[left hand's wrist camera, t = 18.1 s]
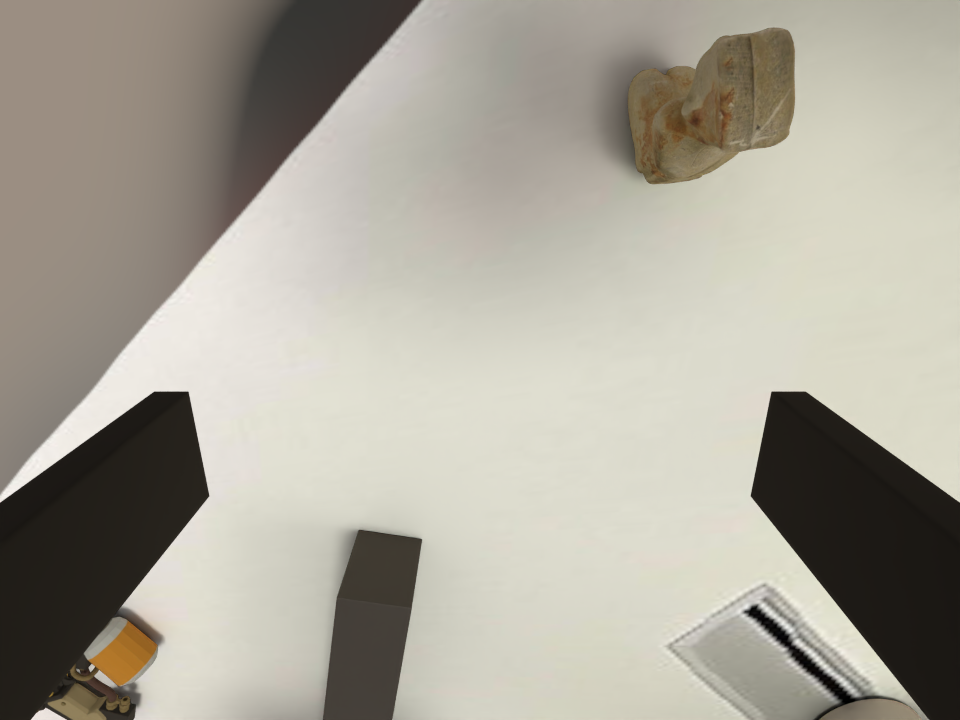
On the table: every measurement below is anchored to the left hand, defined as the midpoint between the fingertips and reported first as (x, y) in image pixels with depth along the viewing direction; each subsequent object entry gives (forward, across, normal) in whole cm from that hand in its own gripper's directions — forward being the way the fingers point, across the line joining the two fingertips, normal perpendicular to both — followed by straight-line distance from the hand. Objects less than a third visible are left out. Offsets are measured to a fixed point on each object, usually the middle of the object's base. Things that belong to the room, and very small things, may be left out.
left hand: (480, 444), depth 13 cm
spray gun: (+31, -40, -40) cm, 64 cm away
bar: (+31, -11, -40) cm, 52 cm away
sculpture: (+31, +12, +8) cm, 34 cm away
